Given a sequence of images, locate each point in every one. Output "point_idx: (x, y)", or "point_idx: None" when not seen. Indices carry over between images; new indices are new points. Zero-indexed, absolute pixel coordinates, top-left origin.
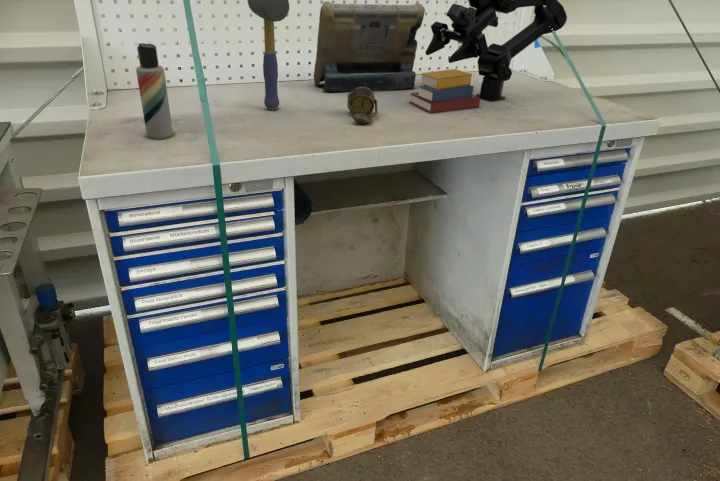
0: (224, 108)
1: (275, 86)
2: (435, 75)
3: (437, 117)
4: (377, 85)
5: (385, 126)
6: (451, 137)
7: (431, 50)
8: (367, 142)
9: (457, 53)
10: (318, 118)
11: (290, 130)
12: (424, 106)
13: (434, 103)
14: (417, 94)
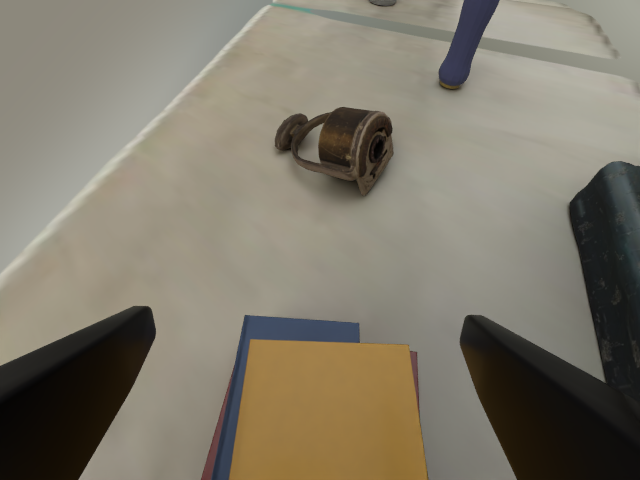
0: None
1: (457, 36)
2: (324, 389)
3: (204, 327)
4: (623, 353)
5: (249, 166)
6: (67, 233)
7: (497, 388)
8: (204, 105)
9: (21, 362)
10: (366, 109)
11: (328, 65)
12: None
13: None
14: None
